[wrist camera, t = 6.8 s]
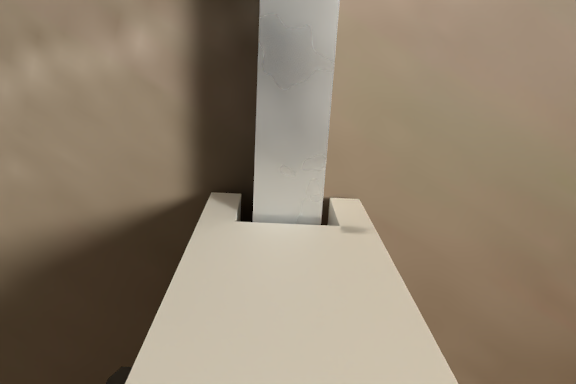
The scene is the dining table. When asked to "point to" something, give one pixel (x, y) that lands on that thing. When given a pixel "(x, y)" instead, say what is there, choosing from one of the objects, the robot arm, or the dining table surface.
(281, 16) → the rail
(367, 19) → the dining table surface
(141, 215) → the dining table surface
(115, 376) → the robot arm
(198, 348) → the block
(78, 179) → the dining table surface
